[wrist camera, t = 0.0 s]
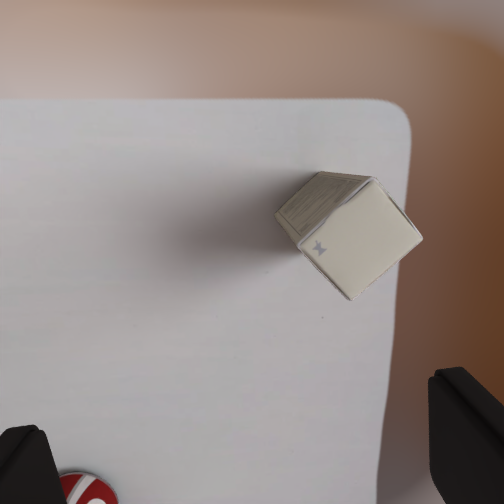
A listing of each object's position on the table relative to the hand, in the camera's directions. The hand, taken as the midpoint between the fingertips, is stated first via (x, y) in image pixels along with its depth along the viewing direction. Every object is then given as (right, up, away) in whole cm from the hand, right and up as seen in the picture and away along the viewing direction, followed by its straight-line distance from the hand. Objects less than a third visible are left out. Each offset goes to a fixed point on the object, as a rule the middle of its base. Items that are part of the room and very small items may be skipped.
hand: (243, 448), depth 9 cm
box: (+5, +8, +20) cm, 23 cm away
